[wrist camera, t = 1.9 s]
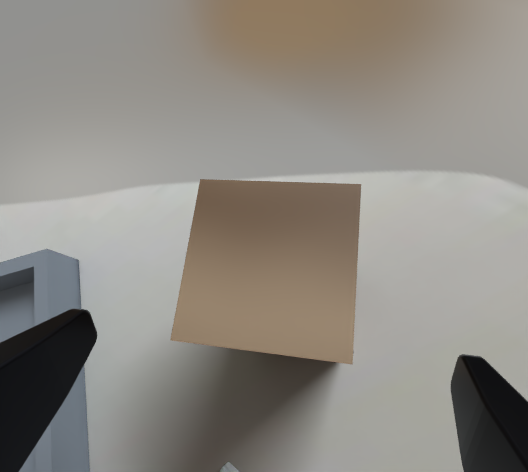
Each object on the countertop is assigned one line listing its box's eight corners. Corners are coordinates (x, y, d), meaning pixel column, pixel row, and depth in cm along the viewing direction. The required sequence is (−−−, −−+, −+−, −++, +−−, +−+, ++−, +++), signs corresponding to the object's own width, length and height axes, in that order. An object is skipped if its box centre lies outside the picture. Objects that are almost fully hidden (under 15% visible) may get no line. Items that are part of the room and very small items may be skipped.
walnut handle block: (342, 356, 18) (352, 364, 8) (252, 345, 19) (170, 340, 9) (347, 265, 19) (361, 184, 10) (262, 259, 20) (200, 179, 11)
